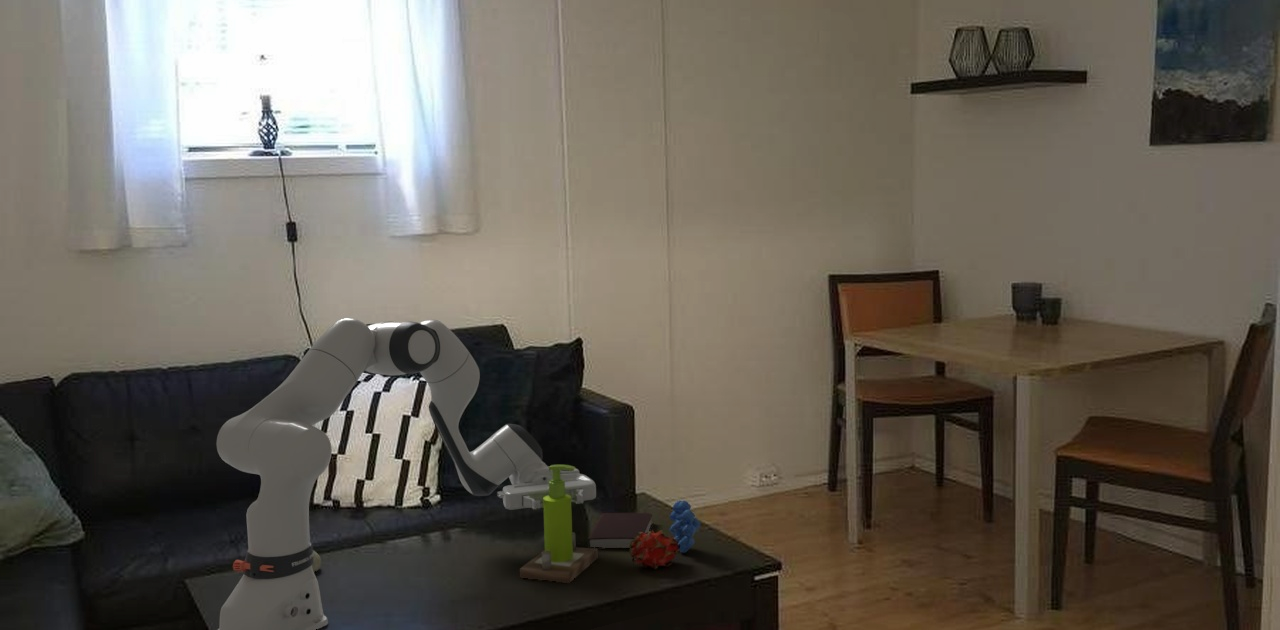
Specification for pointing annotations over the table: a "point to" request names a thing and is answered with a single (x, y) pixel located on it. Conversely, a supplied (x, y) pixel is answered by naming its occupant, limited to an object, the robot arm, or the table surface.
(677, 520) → the grapes
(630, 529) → the book
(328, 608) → the table surface
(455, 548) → the table surface
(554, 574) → the pin seat
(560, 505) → the soap dispenser
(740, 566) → the table surface
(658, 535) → the dragon fruit
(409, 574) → the table surface
